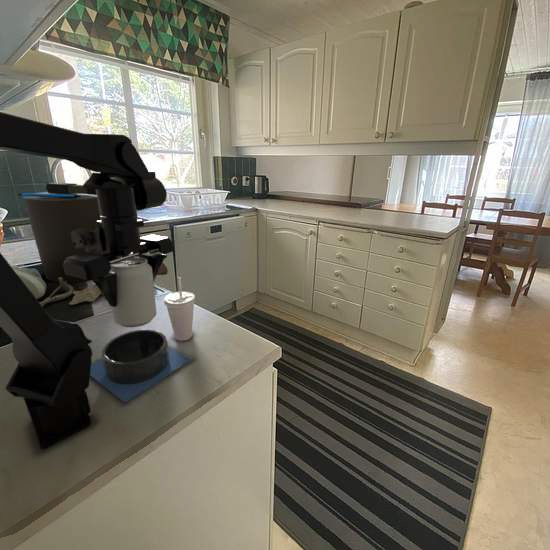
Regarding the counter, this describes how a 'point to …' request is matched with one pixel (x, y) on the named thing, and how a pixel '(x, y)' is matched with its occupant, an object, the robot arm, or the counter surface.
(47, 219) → the container
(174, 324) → the smoothie
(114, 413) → the counter surface
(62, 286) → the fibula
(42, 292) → the boat shoe
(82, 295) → the artifact
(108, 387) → the napkin
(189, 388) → the counter surface
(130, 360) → the pan
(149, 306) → the can
